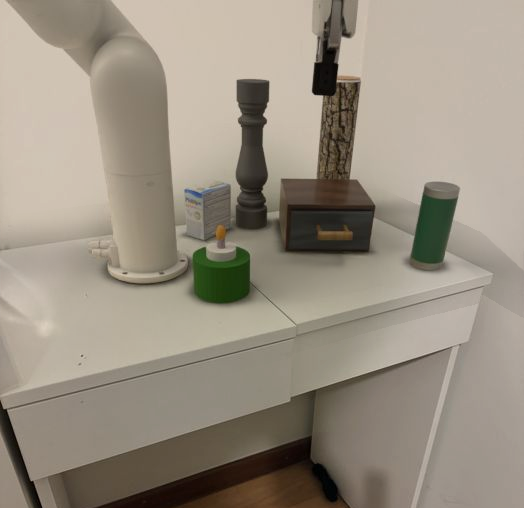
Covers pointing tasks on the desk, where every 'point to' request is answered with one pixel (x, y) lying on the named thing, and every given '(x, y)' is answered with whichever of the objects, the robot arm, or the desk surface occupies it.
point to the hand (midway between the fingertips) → (323, 94)
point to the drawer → (329, 229)
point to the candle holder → (252, 153)
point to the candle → (221, 271)
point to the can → (434, 225)
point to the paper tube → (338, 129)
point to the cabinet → (321, 202)
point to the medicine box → (207, 208)
